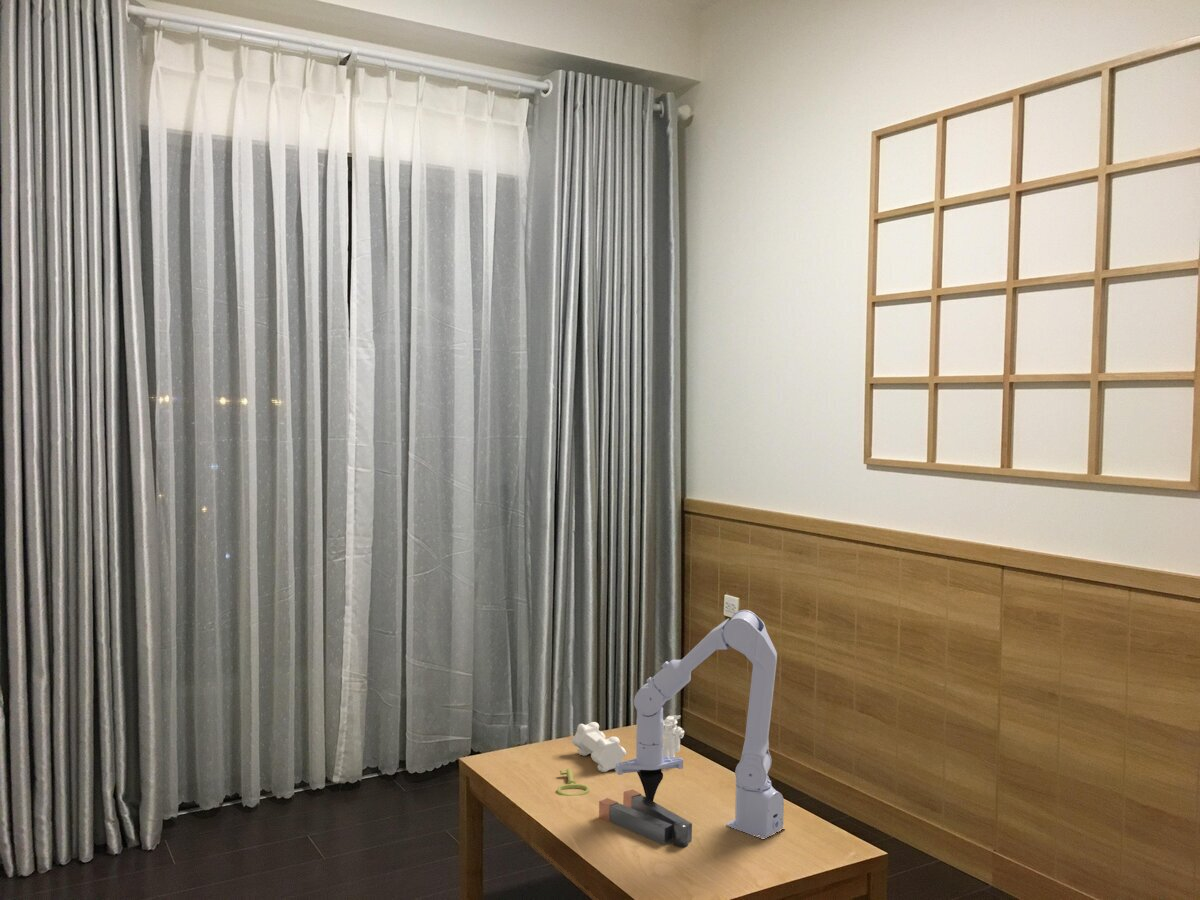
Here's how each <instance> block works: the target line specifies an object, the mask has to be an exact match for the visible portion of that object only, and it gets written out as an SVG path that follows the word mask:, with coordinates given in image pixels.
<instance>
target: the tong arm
mask: <svg viewBox="0 0 1200 900" xmlns="http://www.w3.org/2000/svg"><path fill="white" fill-rule="evenodd" d="M622 797H623V798H622V799H623V803H622V805H625V806H627V807H630V808H632V809H635V810H637V811H640V812H642V813H644V814H647V815H649V816H652V817H654V818H657V819H659V820H662V821H664V822H667V823H669V824H672V825H673V834H672V839H673V844H674V846H675V847H678V848H685V847H688V846H689V842H691V841H693V840H692V839H693V838H692V837H693V823H692V822H690V821H688V820H687V819H685V818H684V817H681V816H680V815H678V814H676V813H674V812H673V811H671V810H669V809H667V808H665V807H663V805H660V804H659V803H657V802H655V801H654V800H653V801H652V800H650V799H648V798H646V796H645V795H642V793H640V792H638V791H637V790H635V789H629V790H626V791H623V796H622Z"/></svg>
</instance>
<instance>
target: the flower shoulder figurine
mask: <svg viewBox="0 0 1200 900" xmlns="http://www.w3.org/2000/svg"><path fill="white" fill-rule="evenodd" d="M681 717H682V715H680V714H679V715H675V714H674V715H668V716H666V717H665V719H663V740H664V741H663V757H676V755H675V754H678V753H680V752H681V751H680V750H681V747H680V746H681V739H683V738H684V735H685V730H684V729H683V728H682V727H681V726H678V725H677V724H678V720H680V719H681Z"/></svg>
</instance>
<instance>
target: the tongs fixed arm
mask: <svg viewBox="0 0 1200 900" xmlns="http://www.w3.org/2000/svg"><path fill="white" fill-rule="evenodd" d="M598 803H599V804H598V805H599V806H598V818H599V819H602V820H604V821H606V822H610V823H612V824H614V825H616V826H619V827H620V828H623V829H625V830H628V831H630V832H633V833H635V834H638V835H640V836H642V837H644V838H647V839H649V840H651V841H653V842H656V843H658V844H660V845H662V846H666V845H668V844H670V843H672V842H673V838H672V834H673V825H672V824H669V823H667V822H664V821H662V820H659V819H657V818H654V817H652V816H649V815H647V814H644V813H642V812H640V811H637V810H635V809H632V808H630V807H627V806H625V805H623V803H620V802H618V801H616V800H614V799H611V798H609V797H607V798H603V799H602V800H599V802H598Z"/></svg>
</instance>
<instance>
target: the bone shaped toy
mask: <svg viewBox="0 0 1200 900" xmlns="http://www.w3.org/2000/svg"><path fill="white" fill-rule="evenodd" d="M620 741H621V740H620V738H619V737H617V736H615V735H613V736H610V737H609V738H606V735H605V733H604V732H603V731H602V730H601V731H600V725H599V723H598V722H596V721H592V722H589V723H588V724H584V723H579V724H578V725H577V728H576V733H575V735H574V736H573V737H571V743H572V744H573V745H574V746H575V747H577V748H578V749H577V752H578V754H579V756H581V755H582V756H583V757H585V756H587V755H589V754H590V757H591V759H592V761H593V762H594V763H597V770H598V771H599V772H601V773H606V772H608V771H611V770H615V771H616V763H618V762H623V758H624V757H625V756H627V751H626V749H625V748H624V747H623V746H621V745H620Z"/></svg>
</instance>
